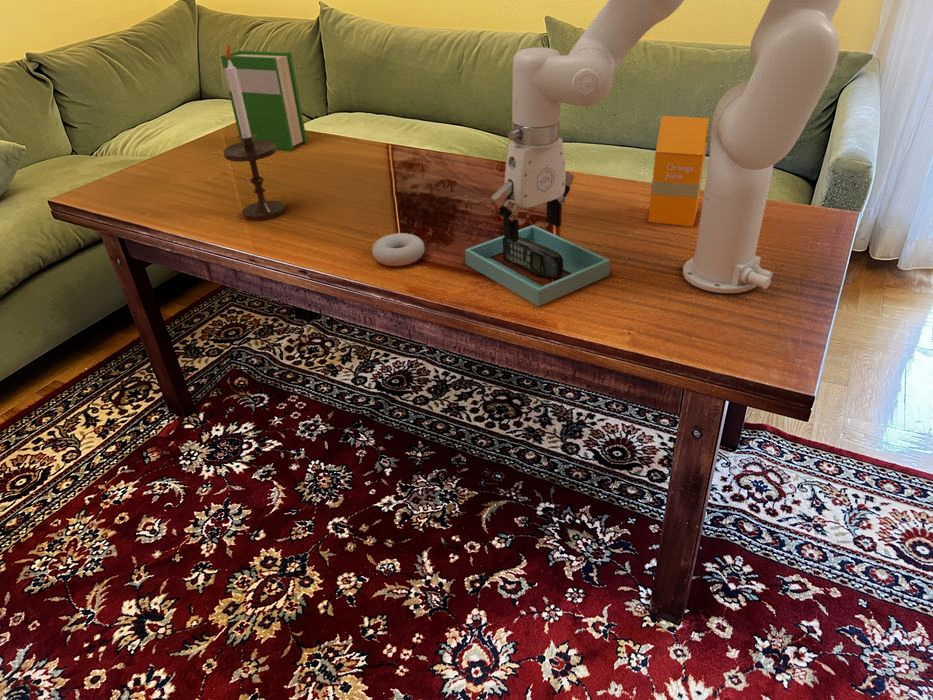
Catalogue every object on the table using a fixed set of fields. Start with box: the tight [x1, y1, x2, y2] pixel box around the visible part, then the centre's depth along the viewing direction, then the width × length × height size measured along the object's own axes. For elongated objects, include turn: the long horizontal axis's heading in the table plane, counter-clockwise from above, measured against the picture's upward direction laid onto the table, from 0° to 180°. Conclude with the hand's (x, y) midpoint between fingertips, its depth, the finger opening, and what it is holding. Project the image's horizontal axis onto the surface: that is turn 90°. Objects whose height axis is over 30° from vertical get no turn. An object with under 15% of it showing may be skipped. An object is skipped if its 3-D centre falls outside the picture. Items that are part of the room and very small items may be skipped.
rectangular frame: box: [464, 224, 611, 307], centre depth 121 cm, size 20×16×3 cm
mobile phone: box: [502, 236, 567, 279], centre depth 121 cm, size 5×3×15 cm
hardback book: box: [220, 50, 308, 152], centre depth 187 cm, size 18×7×24 cm, turn 65°
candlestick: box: [222, 43, 286, 221], centre depth 141 cm, size 11×11×35 cm
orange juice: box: [647, 115, 710, 227], centre depth 132 cm, size 8×9×20 cm
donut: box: [371, 232, 426, 267], centre depth 128 cm, size 10×3×10 cm
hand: (532, 231), depth 118 cm, fingers open, 9 cm apart
